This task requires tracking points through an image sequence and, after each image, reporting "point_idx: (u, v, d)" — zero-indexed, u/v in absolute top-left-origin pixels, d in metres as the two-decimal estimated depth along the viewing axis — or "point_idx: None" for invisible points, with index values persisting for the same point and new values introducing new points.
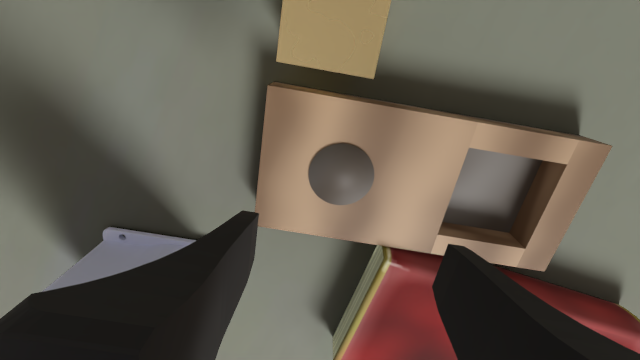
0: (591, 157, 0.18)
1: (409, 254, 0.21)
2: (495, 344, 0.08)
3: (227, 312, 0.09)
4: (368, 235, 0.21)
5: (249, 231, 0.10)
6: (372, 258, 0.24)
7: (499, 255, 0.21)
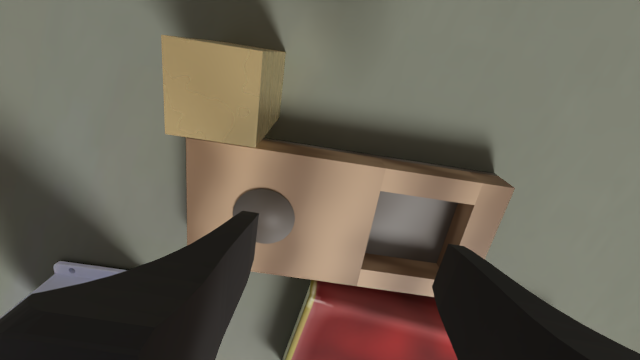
0: (496, 198, 0.19)
1: (335, 290, 0.22)
2: (495, 344, 0.08)
3: (227, 312, 0.09)
4: (296, 270, 0.22)
5: (249, 231, 0.10)
6: (308, 290, 0.25)
7: (422, 287, 0.22)
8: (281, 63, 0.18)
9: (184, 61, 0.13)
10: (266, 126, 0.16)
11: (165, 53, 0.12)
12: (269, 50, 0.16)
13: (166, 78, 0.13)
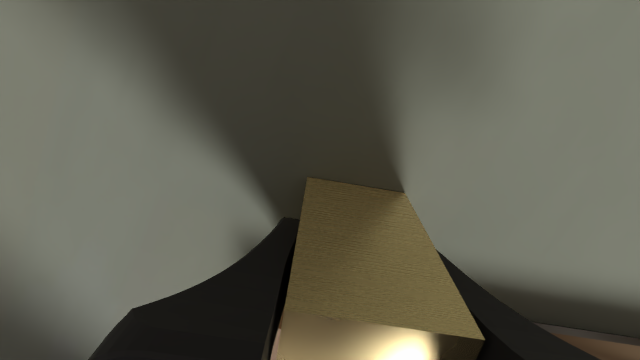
0: None
1: None
2: None
3: (278, 320, 0.09)
4: None
5: (296, 238, 0.10)
6: None
7: None
8: None
9: (321, 347, 0.06)
10: None
11: (287, 336, 0.06)
12: (416, 236, 0.10)
13: None
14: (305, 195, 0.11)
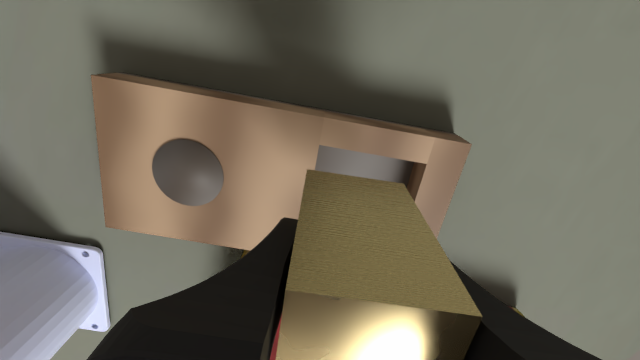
0: (451, 156, 0.17)
1: None
2: None
3: (277, 319, 0.09)
4: (229, 238, 0.19)
5: None
6: None
7: None
8: None
9: (322, 327, 0.06)
10: None
11: (288, 316, 0.06)
12: (415, 222, 0.10)
13: (283, 350, 0.07)
14: (305, 186, 0.11)
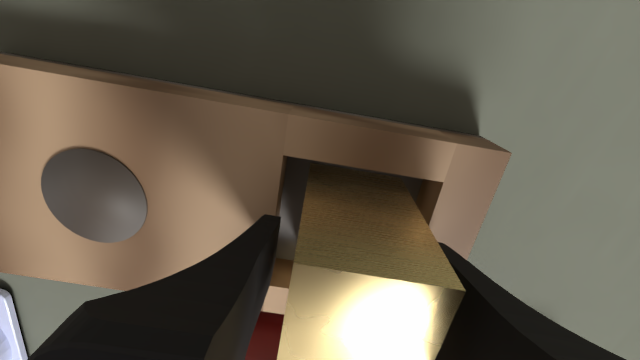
0: (480, 171, 0.11)
1: None
2: (466, 340, 0.08)
3: (254, 316, 0.09)
4: None
5: (274, 235, 0.10)
6: None
7: None
8: None
9: (325, 298, 0.07)
10: None
11: (295, 287, 0.07)
12: (410, 212, 0.11)
13: (290, 318, 0.08)
14: (309, 177, 0.12)
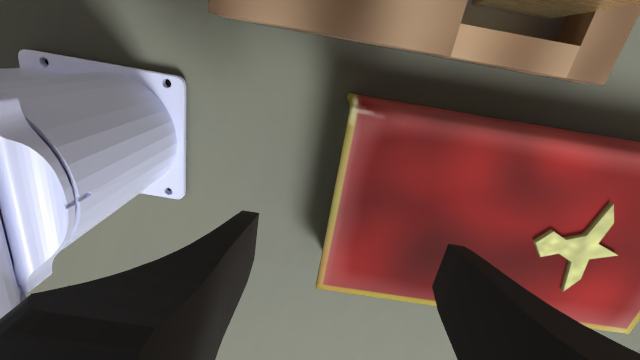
0: None
1: (384, 103, 0.16)
2: (495, 344, 0.08)
3: (227, 312, 0.09)
4: (366, 25, 0.15)
5: (249, 231, 0.10)
6: None
7: (544, 58, 0.15)
8: None
9: None
10: None
11: None
12: None
13: None
14: None
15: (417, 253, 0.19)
